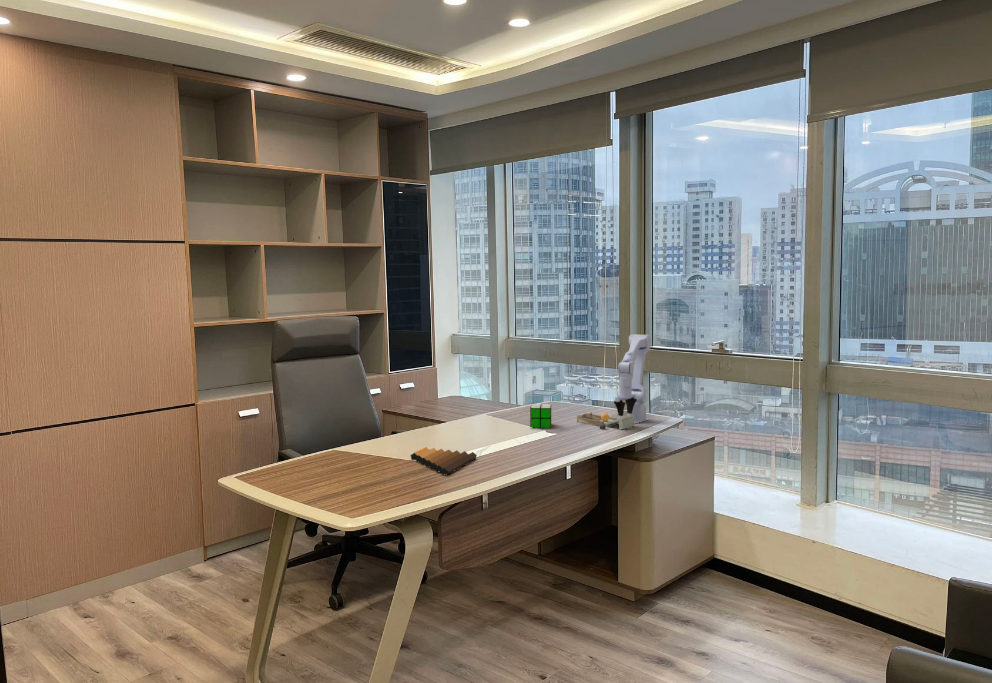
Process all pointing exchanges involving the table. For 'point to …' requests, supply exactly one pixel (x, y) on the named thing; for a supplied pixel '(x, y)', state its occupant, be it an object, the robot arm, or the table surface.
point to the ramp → (621, 422)
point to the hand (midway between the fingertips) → (625, 414)
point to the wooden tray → (591, 419)
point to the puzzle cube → (540, 415)
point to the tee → (602, 426)
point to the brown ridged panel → (443, 459)
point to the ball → (604, 416)
